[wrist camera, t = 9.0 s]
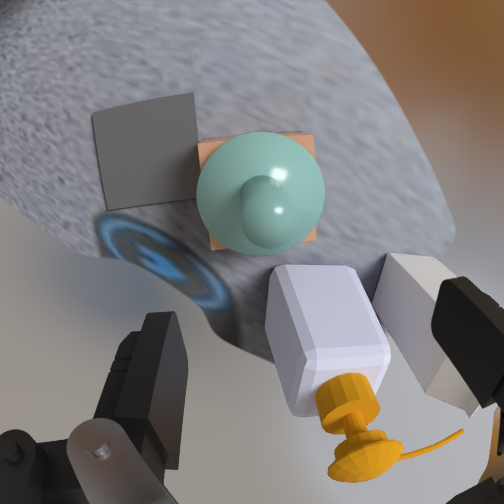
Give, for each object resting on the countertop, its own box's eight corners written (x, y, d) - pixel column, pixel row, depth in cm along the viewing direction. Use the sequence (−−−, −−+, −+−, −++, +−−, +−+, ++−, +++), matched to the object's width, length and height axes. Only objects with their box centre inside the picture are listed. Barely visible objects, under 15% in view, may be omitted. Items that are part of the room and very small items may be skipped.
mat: (93, 112, 26) (92, 112, 25) (193, 93, 26) (192, 92, 25) (109, 209, 30) (108, 210, 29) (204, 196, 30) (204, 197, 30)
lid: (190, 138, 23) (174, 147, 17) (319, 128, 23) (350, 134, 17) (206, 256, 27) (199, 301, 21) (321, 245, 27) (347, 285, 21)
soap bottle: (369, 328, 38) (443, 474, 18) (262, 331, 37) (287, 510, 17) (388, 262, 34) (503, 405, 14) (269, 259, 33) (316, 454, 13)
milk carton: (370, 304, 37) (442, 426, 19) (386, 251, 34) (486, 363, 16) (415, 305, 37) (493, 410, 20) (433, 256, 34) (532, 352, 17)
